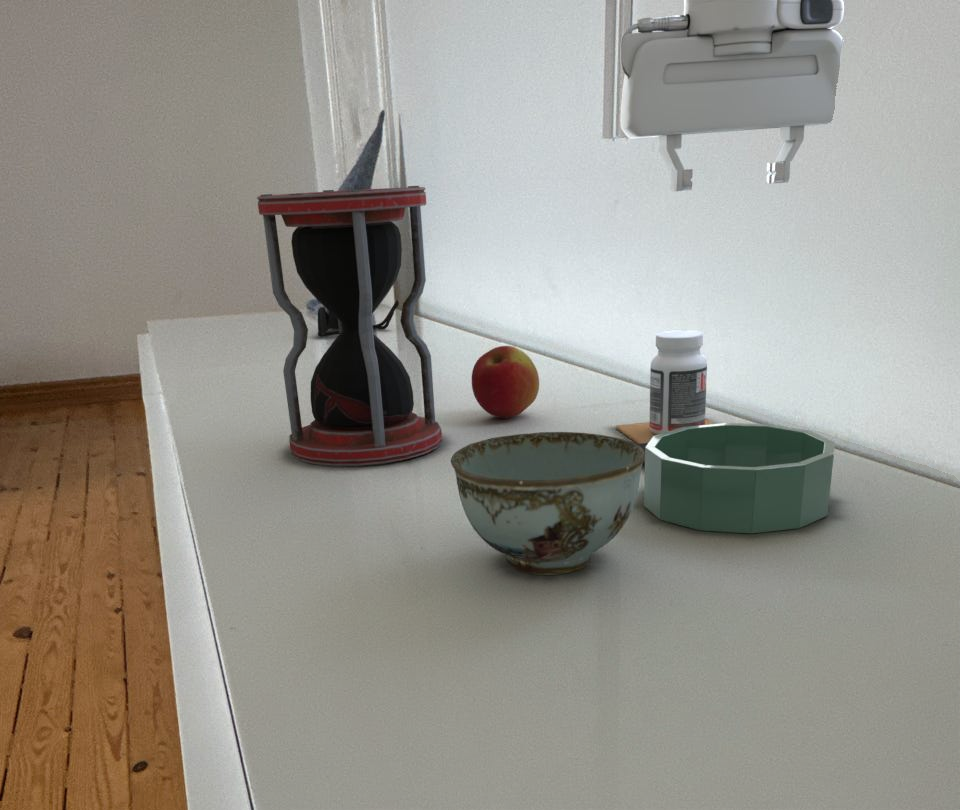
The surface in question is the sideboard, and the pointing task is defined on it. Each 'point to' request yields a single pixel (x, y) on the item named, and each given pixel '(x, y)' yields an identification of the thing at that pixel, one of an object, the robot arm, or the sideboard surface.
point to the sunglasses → (331, 322)
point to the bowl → (548, 495)
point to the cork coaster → (641, 431)
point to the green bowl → (738, 477)
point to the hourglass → (353, 324)
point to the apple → (505, 381)
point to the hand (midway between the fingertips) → (729, 187)
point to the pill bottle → (677, 381)
